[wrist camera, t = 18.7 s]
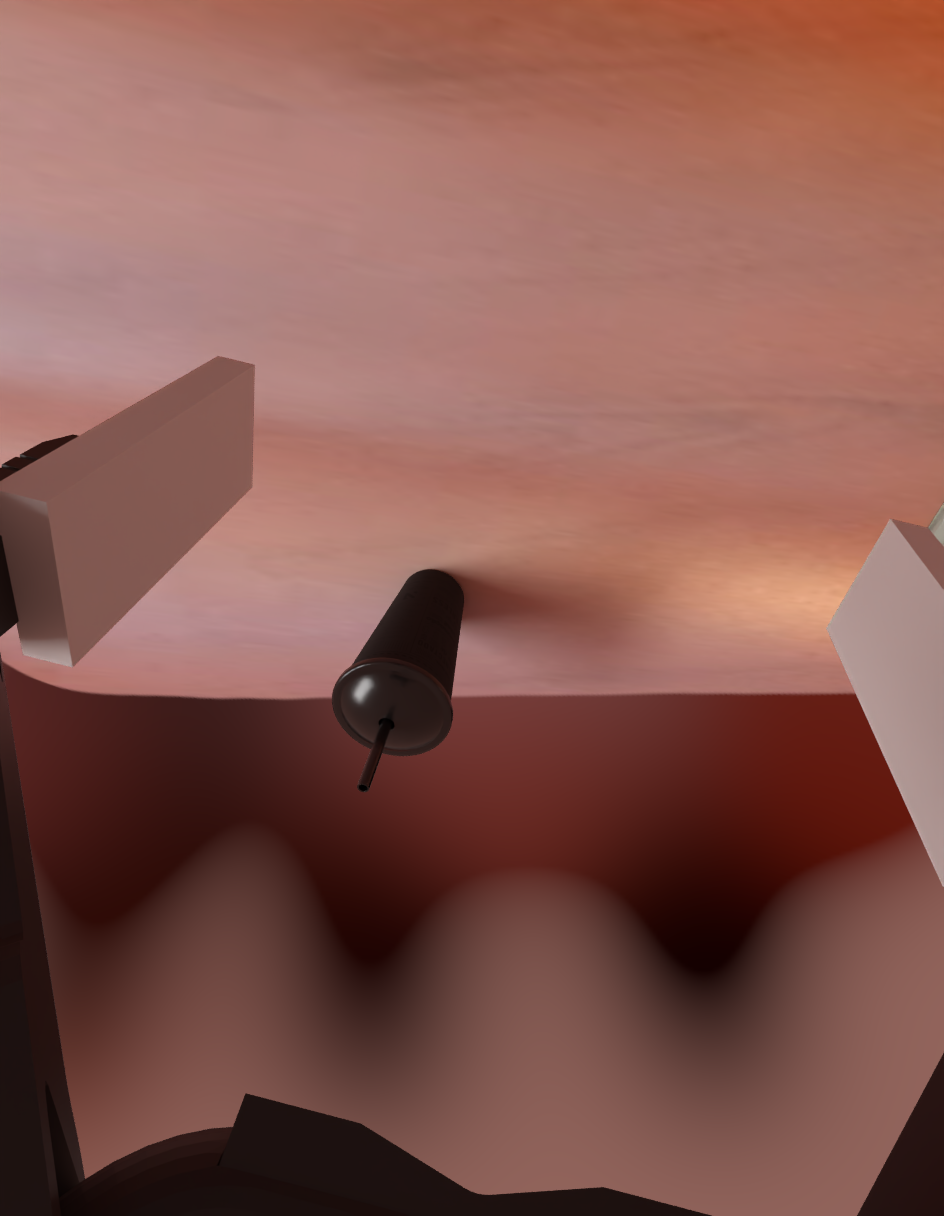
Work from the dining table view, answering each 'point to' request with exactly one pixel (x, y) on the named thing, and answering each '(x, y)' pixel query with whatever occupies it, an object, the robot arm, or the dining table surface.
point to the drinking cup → (404, 673)
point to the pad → (938, 525)
